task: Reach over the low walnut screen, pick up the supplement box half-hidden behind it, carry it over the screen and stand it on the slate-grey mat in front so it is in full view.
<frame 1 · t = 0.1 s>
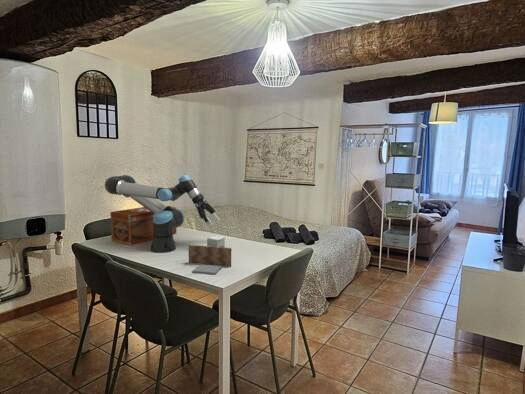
hand: (214, 223, 211), 15 cm above the table, tool tilted 35°, fingers open, 13 cm apart
wooden box: (145, 237, 235), on the table
supplement box: (215, 259, 188), on the table
walnut screen: (209, 264, 179), on the table
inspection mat: (207, 270, 169), on the table
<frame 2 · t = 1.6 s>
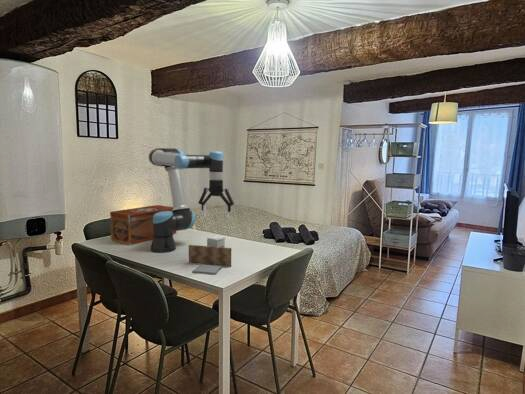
hand: (216, 217, 185), 24 cm above the table, tool pointing down, fingers open, 13 cm apart
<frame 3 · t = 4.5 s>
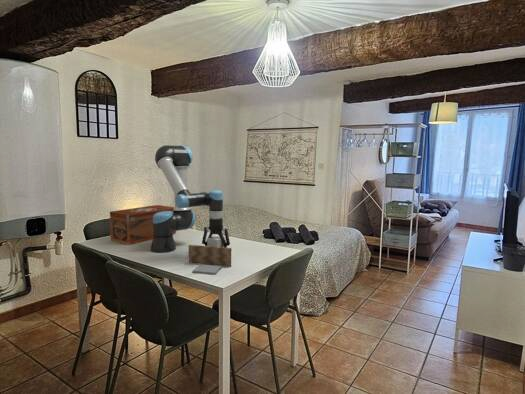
hand: (215, 256, 188), 1 cm above the table, tool pointing down, fingers closed on supplement box, 9 cm apart
supplement box: (215, 259, 188), on the table, touching gripper
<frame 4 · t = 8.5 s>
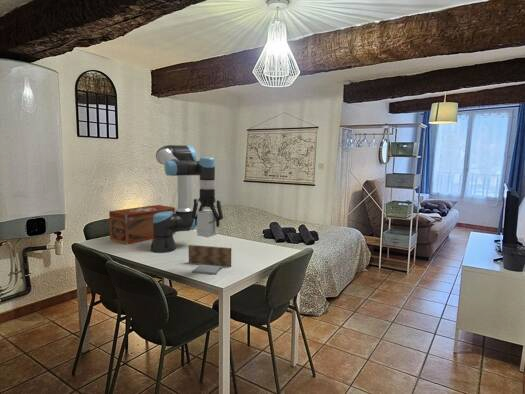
hand: (207, 232, 167), 20 cm above the table, tool pointing down, fingers closed on supplement box, 9 cm apart
supplement box: (207, 235, 167), point 18 cm above the table, touching gripper
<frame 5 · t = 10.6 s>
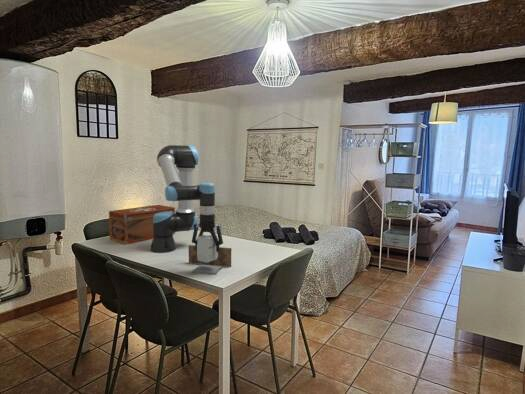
hand: (207, 257, 168), 7 cm above the table, tool pointing down, fingers closed on supplement box, 9 cm apart
supplement box: (207, 260, 169), point 6 cm above the table, touching gripper
when the fingers open (4 cm above the table, at t = 12.3 s): supplement box drops 1 cm, resting on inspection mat.
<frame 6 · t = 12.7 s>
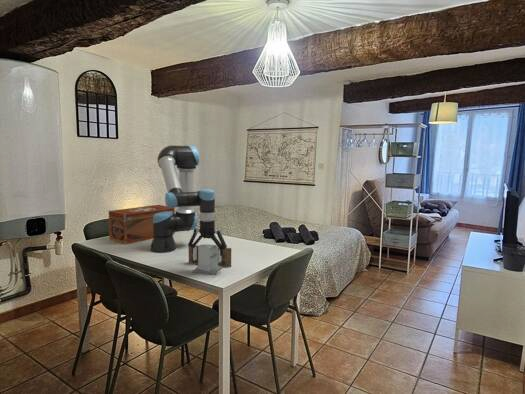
hand: (207, 260, 169), 5 cm above the table, tool pointing down, fingers open, 13 cm apart
supplement box: (208, 269, 169), point 1 cm above the table, touching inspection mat
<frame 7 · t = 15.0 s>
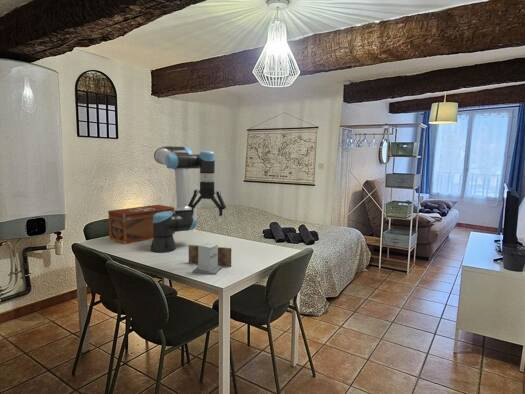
hand: (206, 221, 174), 24 cm above the table, tool pointing down, fingers open, 13 cm apart
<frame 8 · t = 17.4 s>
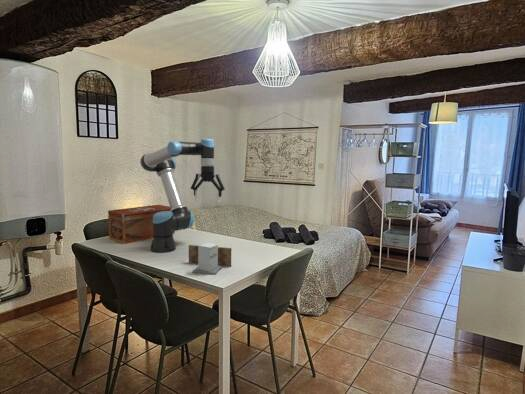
hand: (207, 201, 194), 32 cm above the table, tool pointing down, fingers open, 13 cm apart
at the end: supplement box inside the target area on the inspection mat (0.5 cm from its centre), point 0.8 cm above the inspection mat's base; supplement box tilted 0°; the gripper is holding nothing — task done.
